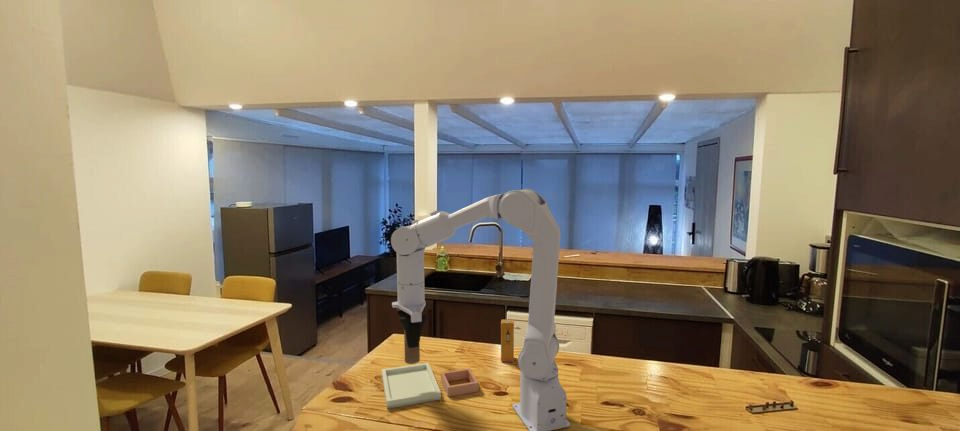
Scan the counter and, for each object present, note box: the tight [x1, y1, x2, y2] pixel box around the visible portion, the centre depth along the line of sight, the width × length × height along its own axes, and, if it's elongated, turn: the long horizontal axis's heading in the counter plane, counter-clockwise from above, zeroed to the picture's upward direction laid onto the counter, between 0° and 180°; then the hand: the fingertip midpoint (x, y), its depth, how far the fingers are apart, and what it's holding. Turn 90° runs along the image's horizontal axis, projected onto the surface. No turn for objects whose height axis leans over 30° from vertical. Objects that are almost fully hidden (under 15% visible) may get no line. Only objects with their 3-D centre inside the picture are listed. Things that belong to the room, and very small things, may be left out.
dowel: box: [403, 330, 421, 365], centre depth 87 cm, size 3×3×9 cm
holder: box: [440, 368, 480, 398], centre depth 89 cm, size 7×7×2 cm
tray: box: [381, 362, 442, 410], centre depth 89 cm, size 14×11×2 cm
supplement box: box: [500, 319, 515, 363], centre depth 102 cm, size 3×3×10 cm
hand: (411, 343), depth 87 cm, fingers closed on dowel, 3 cm apart
